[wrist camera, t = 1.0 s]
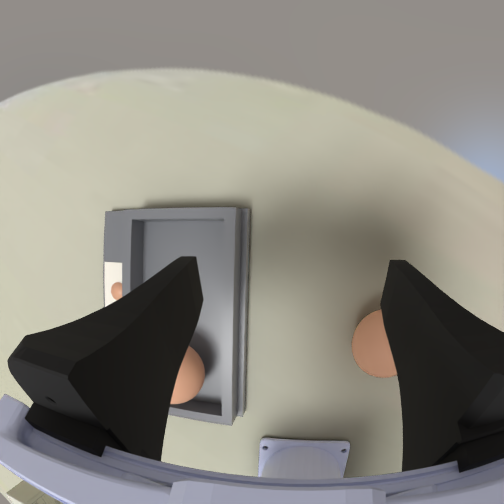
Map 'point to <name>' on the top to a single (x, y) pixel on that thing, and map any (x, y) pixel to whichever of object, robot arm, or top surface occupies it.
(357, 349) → the terracotta ball
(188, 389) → the resting terracotta ball
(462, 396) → the robot arm
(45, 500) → the skincare box
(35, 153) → the top surface
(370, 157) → the top surface
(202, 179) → the top surface
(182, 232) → the grey rimmed tray
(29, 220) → the top surface
